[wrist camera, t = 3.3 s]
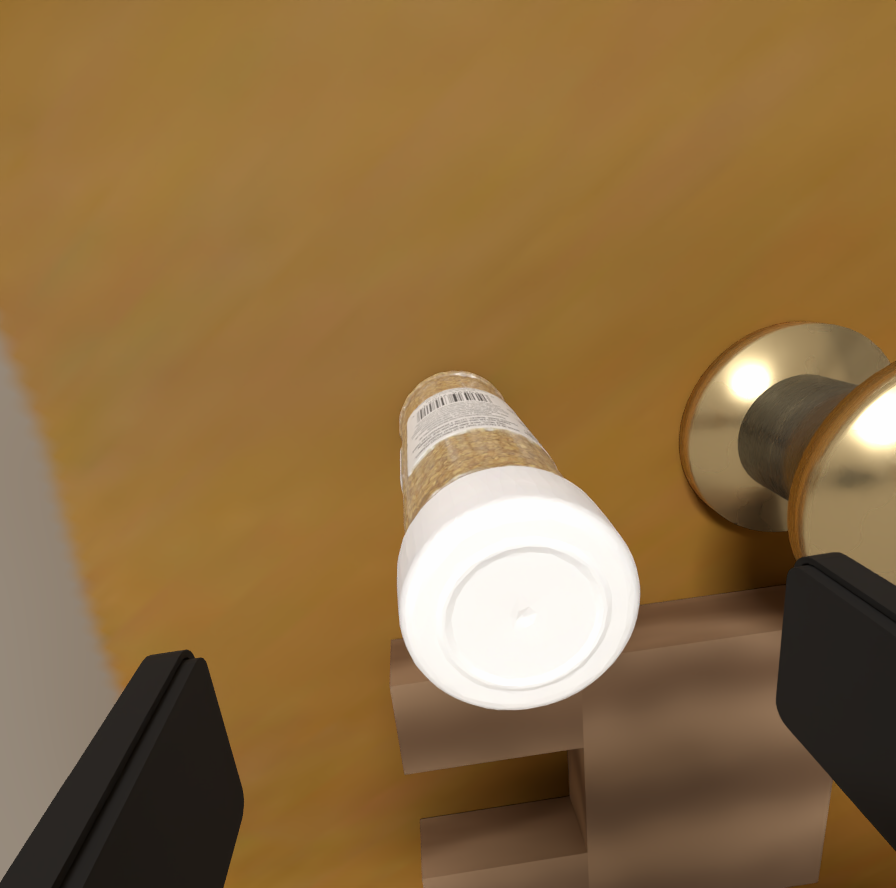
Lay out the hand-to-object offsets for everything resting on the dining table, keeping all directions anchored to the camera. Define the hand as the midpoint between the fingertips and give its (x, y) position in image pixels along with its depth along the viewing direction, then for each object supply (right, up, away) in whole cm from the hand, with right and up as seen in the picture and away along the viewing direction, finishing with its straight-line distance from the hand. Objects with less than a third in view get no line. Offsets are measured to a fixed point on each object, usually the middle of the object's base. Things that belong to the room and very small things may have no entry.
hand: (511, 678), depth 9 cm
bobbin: (+13, +5, +15) cm, 21 cm away
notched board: (+7, -12, +20) cm, 24 cm away
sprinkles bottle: (-1, +5, +14) cm, 15 cm away
